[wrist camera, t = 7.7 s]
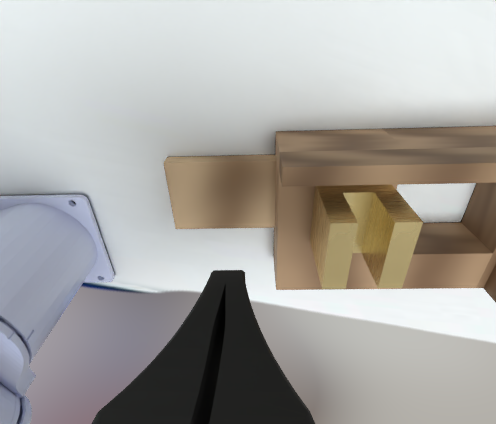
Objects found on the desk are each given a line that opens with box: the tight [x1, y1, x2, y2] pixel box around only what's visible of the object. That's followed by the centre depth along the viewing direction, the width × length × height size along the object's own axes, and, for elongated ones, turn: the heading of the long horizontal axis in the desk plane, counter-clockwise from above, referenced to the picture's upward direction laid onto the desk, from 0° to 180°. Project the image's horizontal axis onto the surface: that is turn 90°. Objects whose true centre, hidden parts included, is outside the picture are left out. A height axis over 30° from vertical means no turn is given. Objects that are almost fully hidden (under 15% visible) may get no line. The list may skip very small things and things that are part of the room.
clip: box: [310, 185, 423, 289], centre depth 16 cm, size 4×4×4 cm
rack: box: [164, 126, 496, 302], centre depth 19 cm, size 22×10×6 cm, turn 92°
